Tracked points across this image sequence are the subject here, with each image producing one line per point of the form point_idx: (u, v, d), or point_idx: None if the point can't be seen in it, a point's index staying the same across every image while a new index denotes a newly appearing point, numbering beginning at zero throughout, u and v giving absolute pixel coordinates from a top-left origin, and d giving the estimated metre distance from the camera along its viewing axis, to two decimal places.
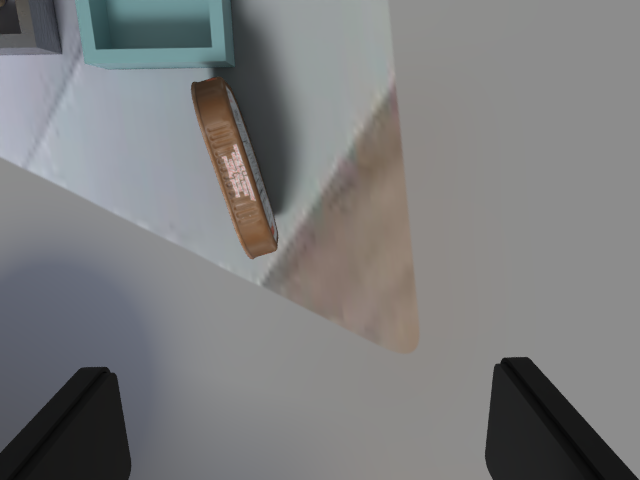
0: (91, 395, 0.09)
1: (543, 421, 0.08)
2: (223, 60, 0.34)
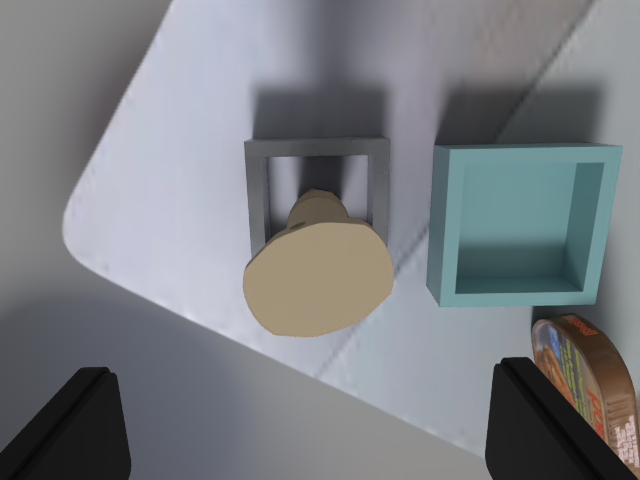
0: (91, 395, 0.09)
1: (543, 421, 0.08)
2: (591, 303, 0.31)
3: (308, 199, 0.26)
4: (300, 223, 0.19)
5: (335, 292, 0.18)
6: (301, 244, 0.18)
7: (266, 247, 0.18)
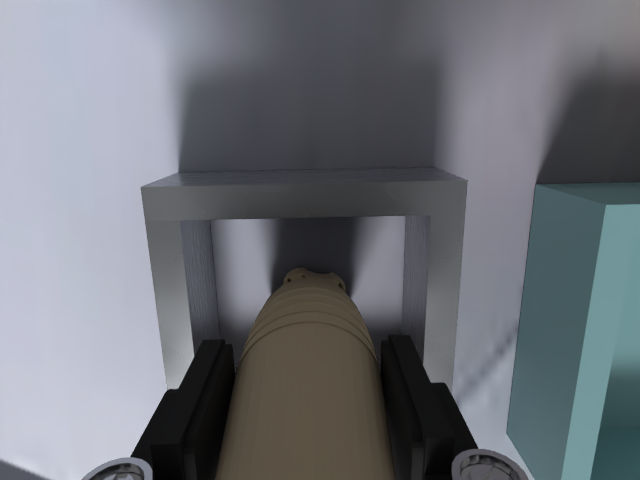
0: (222, 361, 0.10)
1: (397, 386, 0.09)
2: None
3: (283, 333, 0.11)
4: None
5: None
6: None
7: None
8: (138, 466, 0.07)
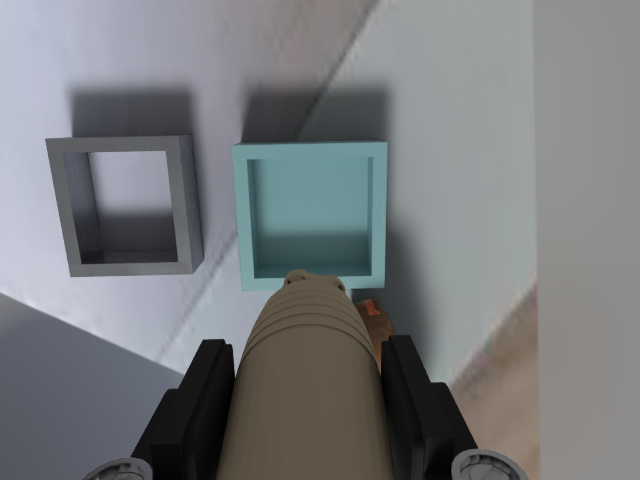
0: (222, 361, 0.10)
1: (397, 386, 0.09)
2: (381, 286, 0.33)
3: (283, 335, 0.11)
4: None
5: None
6: None
7: None
8: (138, 466, 0.07)
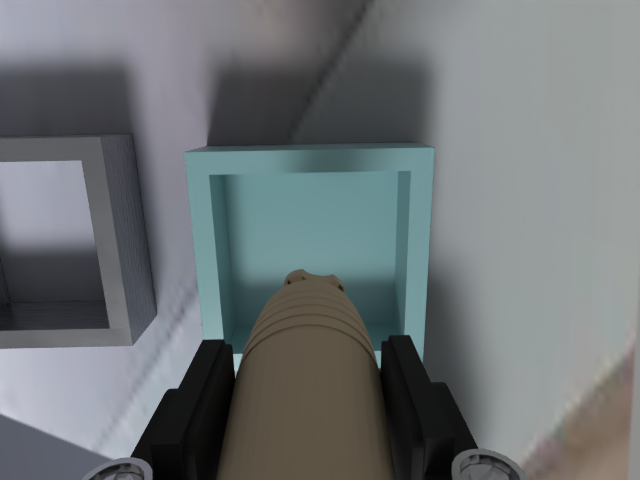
0: (222, 361, 0.10)
1: (397, 386, 0.09)
2: None
3: (283, 336, 0.11)
4: None
5: None
6: None
7: None
8: (138, 466, 0.07)
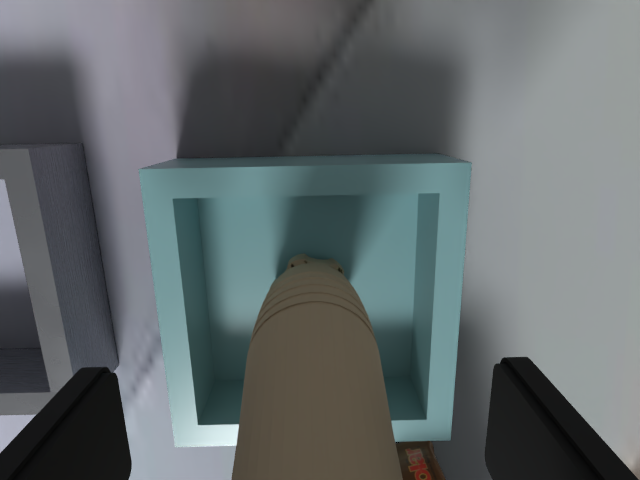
0: (91, 395, 0.09)
1: (543, 421, 0.08)
2: (445, 438, 0.17)
3: (291, 311, 0.12)
4: None
5: None
6: None
7: None
8: None
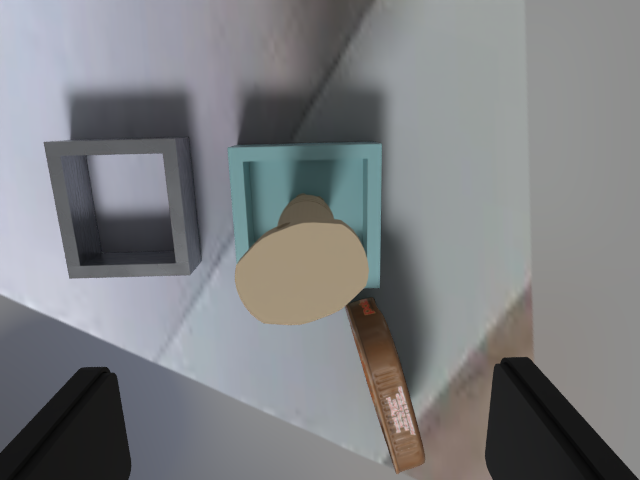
0: (91, 395, 0.09)
1: (543, 421, 0.08)
2: (377, 286, 0.34)
3: (296, 203, 0.29)
4: (286, 223, 0.21)
5: (317, 284, 0.21)
6: (286, 241, 0.20)
7: (255, 244, 0.20)
8: None
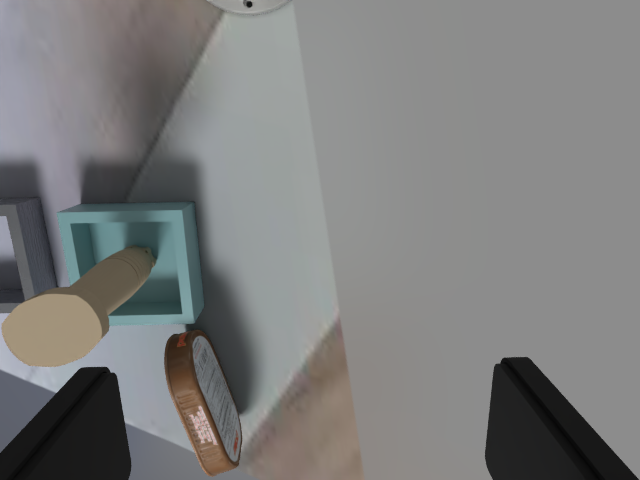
0: (91, 395, 0.09)
1: (543, 421, 0.08)
2: (192, 322, 0.41)
3: (103, 260, 0.36)
4: (45, 291, 0.28)
5: (64, 337, 0.28)
6: (37, 307, 0.27)
7: (14, 309, 0.27)
8: None
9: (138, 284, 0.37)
